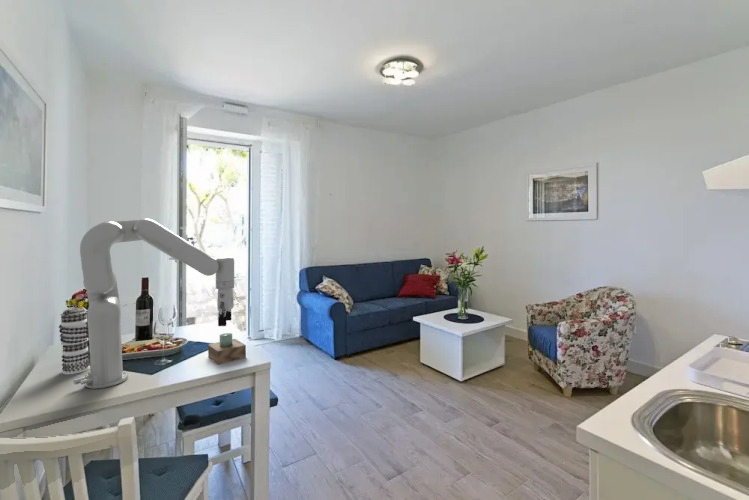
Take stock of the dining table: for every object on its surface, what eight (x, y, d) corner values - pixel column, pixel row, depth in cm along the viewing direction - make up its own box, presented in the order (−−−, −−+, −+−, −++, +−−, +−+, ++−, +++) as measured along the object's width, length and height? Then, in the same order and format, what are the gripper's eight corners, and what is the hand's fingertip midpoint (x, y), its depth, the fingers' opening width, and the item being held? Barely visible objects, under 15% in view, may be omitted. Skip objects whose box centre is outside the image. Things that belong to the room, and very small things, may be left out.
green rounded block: (224, 347, 151) (224, 337, 151) (217, 345, 154) (217, 335, 154) (234, 344, 155) (234, 334, 155) (227, 342, 158) (227, 332, 158)
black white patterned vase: (74, 365, 145) (71, 306, 143) (96, 365, 145) (94, 306, 144) (54, 374, 136) (51, 311, 134) (78, 374, 136) (75, 311, 134)
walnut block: (218, 365, 147) (217, 351, 146) (208, 357, 155) (208, 344, 155) (245, 358, 155) (245, 344, 154) (235, 351, 163) (234, 338, 163)
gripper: (229, 287, 145) (229, 328, 146) (238, 282, 162) (237, 318, 163) (210, 287, 144) (210, 328, 145) (220, 282, 161) (220, 318, 162)
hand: (225, 323), depth 154 cm, fingers open, 9 cm apart
